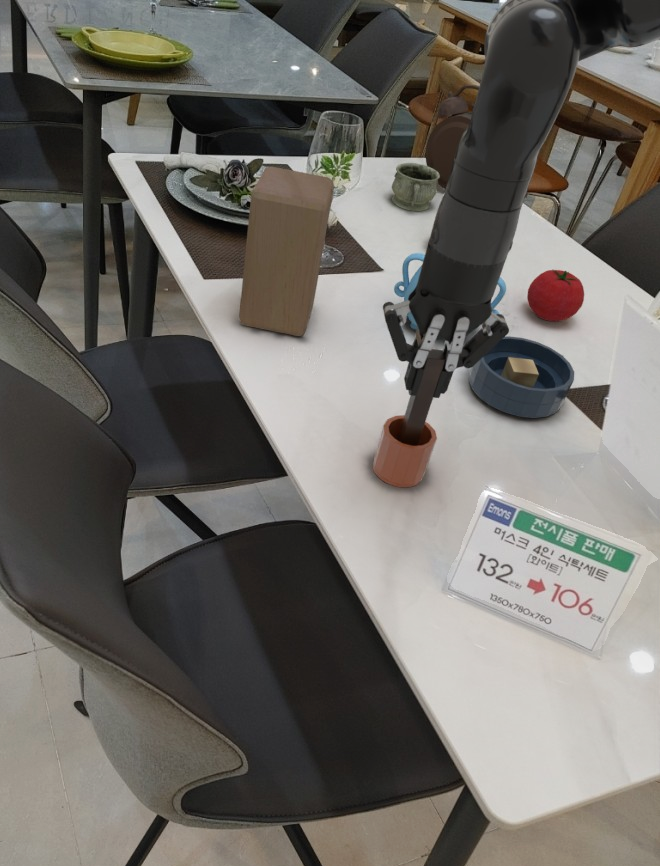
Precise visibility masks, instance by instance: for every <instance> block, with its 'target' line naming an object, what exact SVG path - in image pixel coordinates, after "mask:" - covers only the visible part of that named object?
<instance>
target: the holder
mask: <svg viewBox="0 0 660 866" xmlns="http://www.w3.org/2000/svg"><path fill="white" fill-rule="evenodd" d="M404 416H405V414H402V415H393V416H391V417H389V418H388V419H386V420H385V422H384V424H383V425H382V429H381V433H380V437H379V441H378V443H377V447H376V451H375V454H374V458H373V465H372V469H373V472H374V473H375V475H376V476H377V477H378V478H379V479H380V480H381V481H382V482H384V483H386V484H387V485H390V486H393V487H397V488H411V487H415V486H417V485H419V484H420V483H421V482H422V480H423V479H424V476H425V474H426V472H427V468H428V466H429V463H430V460H431V457H432V454H433V451H434V448H435V446H436V443H437V440H438V438H437V437H438V436H437V433H436V432H437V431H436V430H435V428H434V427H433V426H432V425H431V424H430V423H429V422H427V421H425V424H424V427H423V430H422V433H421V437H420V440H419V443H418V446H412V445H407V444H403V443H401V442H400V441H398V440H397V439H398V436H399V433H400V429H401V426H402V423H403V419H404Z"/></svg>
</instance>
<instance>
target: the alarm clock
mask: <svg viewBox="0 0 660 866" xmlns="http://www.w3.org/2000/svg"><path fill="white" fill-rule="evenodd" d="M479 86H480V85H476V84H465V85H463V86H461V87H460V88H459V89H458V90H457V91H456V93H455V94H454V92H453V91H452V90H450V91H448V94H447V96H448V97H445V99H443V101H442V102H440V104H439V106H438V110H437V111H438V112H437V117H438V119H439V120H440V119H442V120H441V121H440V122H438V124H436V125H435V127H434V128H433V129H432V130H431V132H430V134H429V136H428V139H427V142H426V146H425V163H426V166H428V167H430V168H433V169H434V170H436V171H437V172H438V173H439V175H440V178H439V179H438V184H437V186H438V187H440V188H442V190H443V189H444V190H446V187H447V184H448V180H449V177H450V173H451V169H452V166H453V162H454V159H455V155H456V151H457V148H458V145H459V143H460V140H461V138H462V135H463V133H464V131H465V130H466V129H467V127H468V126H469V125H470V121H471V117H472V113H473V109H474V105H475V102H471V104H470V107H471V108H472V109H471V111H469V106H468V103H467V101H466V99H465V98H464V97H463V96H460V94H462V93H463V91H465V89H473V90H476V91H478V90H479ZM443 118H444V119H443Z"/></svg>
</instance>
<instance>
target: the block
mask: <svg viewBox="0 0 660 866" xmlns="http://www.w3.org/2000/svg"><path fill="white" fill-rule="evenodd" d="M538 375H539V373H538V371H537V368H536V366H535V364H534V361H533V360H530V359H521V358H512V357H508V359H507V362H506V364H505V367H504V369H503V372H502V374H501V377H503V378H505V379H507V380H509V381H511V382H514V383H516V384H519V385H523V386H526V387H530V388H533V387H534V385H535V382H536V380H537V378H538Z"/></svg>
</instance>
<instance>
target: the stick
mask: <svg viewBox="0 0 660 866" xmlns="http://www.w3.org/2000/svg"><path fill="white" fill-rule="evenodd" d="M444 363H445V357H444V354H443V349H437V348H436V349H435V348H432V350H431V351H429V354H428V356H427V358H426V361H425V363H424V365H423V367H424V369H425V370H424V373H423V376H422V379H421V383H420V386H419V389H418V392H417V395H416V396H413V395H409V398H408V399H409V400H408V403H407V406H406V410H405V413H404V415H405V416H404V419H403V423H402V426H401V429H400V433H399V436H398V439H397V440H398V441H400V442H401V443H403V444H407V445H412V446H418V443H419V440H420V437H421V433H422V430H423V427H424V424H425V422H427V418H428V415H429V412H430V408H431V405H432V403H433V400H434V398H433V396H434V393H435V390H436V387H437V383H438V380H439V377H440V374H441V371H442V369H443V366H444Z"/></svg>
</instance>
